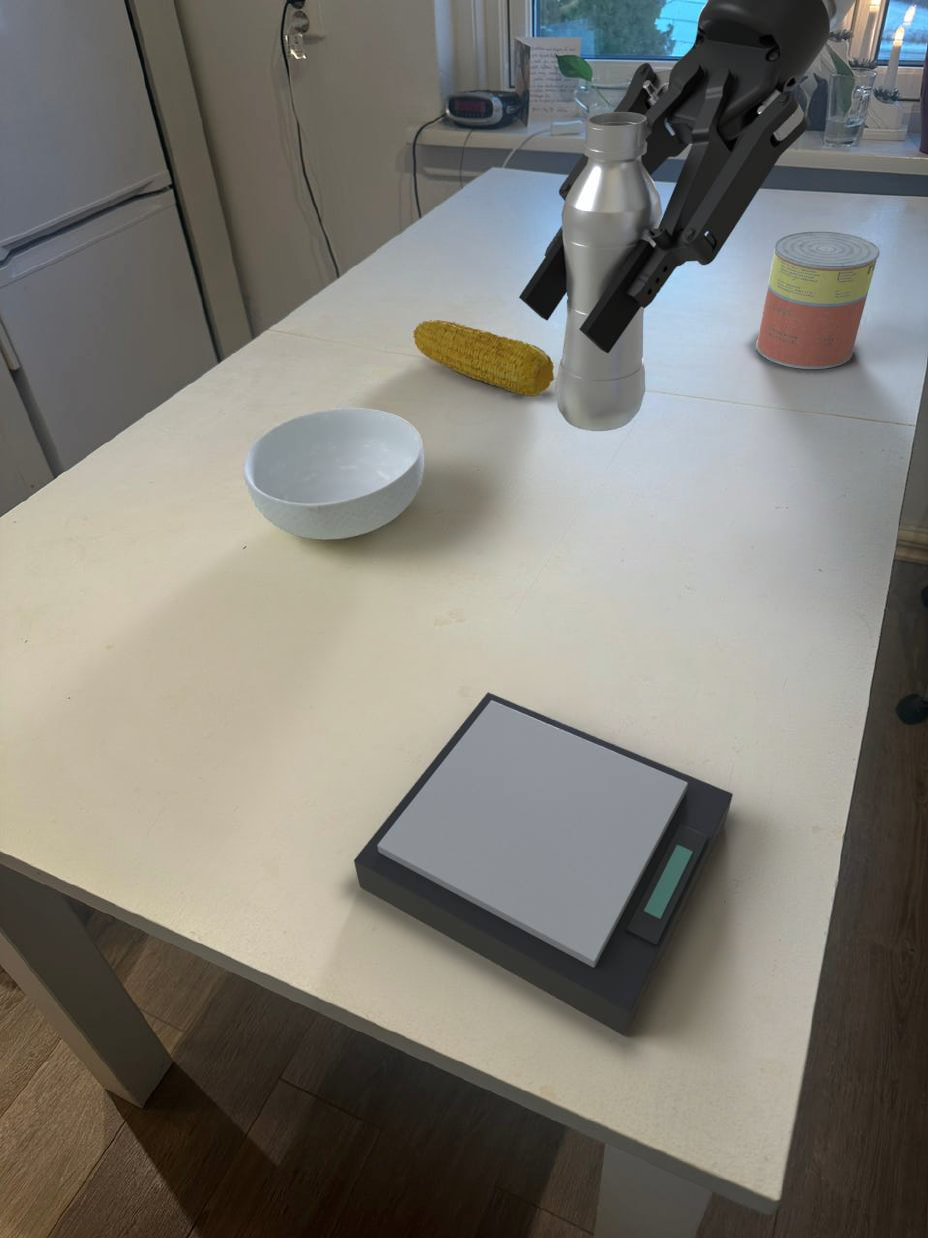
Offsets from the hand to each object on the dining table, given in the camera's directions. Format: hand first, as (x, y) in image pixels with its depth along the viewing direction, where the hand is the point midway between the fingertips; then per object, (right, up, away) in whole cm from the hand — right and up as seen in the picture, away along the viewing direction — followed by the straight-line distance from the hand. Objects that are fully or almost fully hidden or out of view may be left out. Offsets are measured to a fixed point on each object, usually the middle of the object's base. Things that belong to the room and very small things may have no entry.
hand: (562, 324), depth 58 cm
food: (-5, +9, +47) cm, 48 cm away
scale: (-1, -35, -3) cm, 35 cm away
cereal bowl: (-18, -10, +27) cm, 34 cm away
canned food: (+35, +13, +49) cm, 62 cm away
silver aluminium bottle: (+3, -5, +7) cm, 9 cm away
